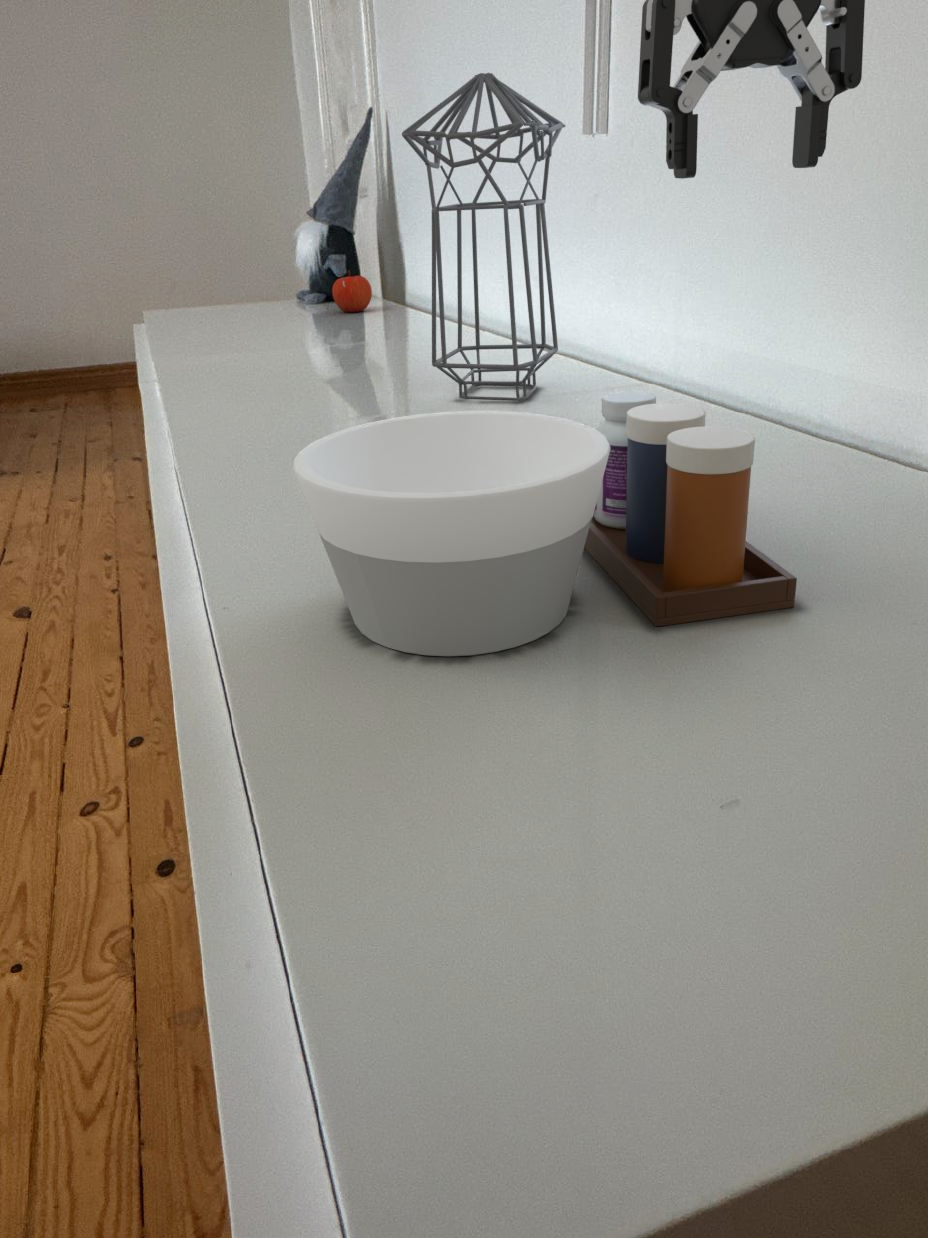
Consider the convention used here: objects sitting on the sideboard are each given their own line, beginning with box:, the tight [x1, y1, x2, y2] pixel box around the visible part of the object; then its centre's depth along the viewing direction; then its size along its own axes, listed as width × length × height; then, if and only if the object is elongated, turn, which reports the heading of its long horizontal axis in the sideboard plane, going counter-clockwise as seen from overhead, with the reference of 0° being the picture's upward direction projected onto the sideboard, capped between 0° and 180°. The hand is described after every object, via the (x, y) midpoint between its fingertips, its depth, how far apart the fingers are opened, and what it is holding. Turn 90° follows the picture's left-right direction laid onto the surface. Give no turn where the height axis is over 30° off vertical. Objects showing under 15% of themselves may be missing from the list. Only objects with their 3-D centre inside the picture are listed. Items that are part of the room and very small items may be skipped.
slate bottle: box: [626, 402, 707, 563], centre depth 67 cm, size 5×5×10 cm
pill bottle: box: [594, 390, 657, 529], centre depth 73 cm, size 5×5×10 cm
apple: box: [332, 269, 373, 314], centre depth 195 cm, size 8×8×8 cm
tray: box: [584, 514, 798, 627], centre depth 69 cm, size 9×21×2 cm, turn 12°
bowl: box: [292, 410, 610, 657], centre depth 61 cm, size 19×19×11 cm
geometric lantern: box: [401, 72, 566, 402], centre depth 113 cm, size 16×16×35 cm
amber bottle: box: [663, 425, 756, 592], centre depth 61 cm, size 5×5×10 cm
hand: (745, 172), depth 64 cm, fingers open, 8 cm apart
